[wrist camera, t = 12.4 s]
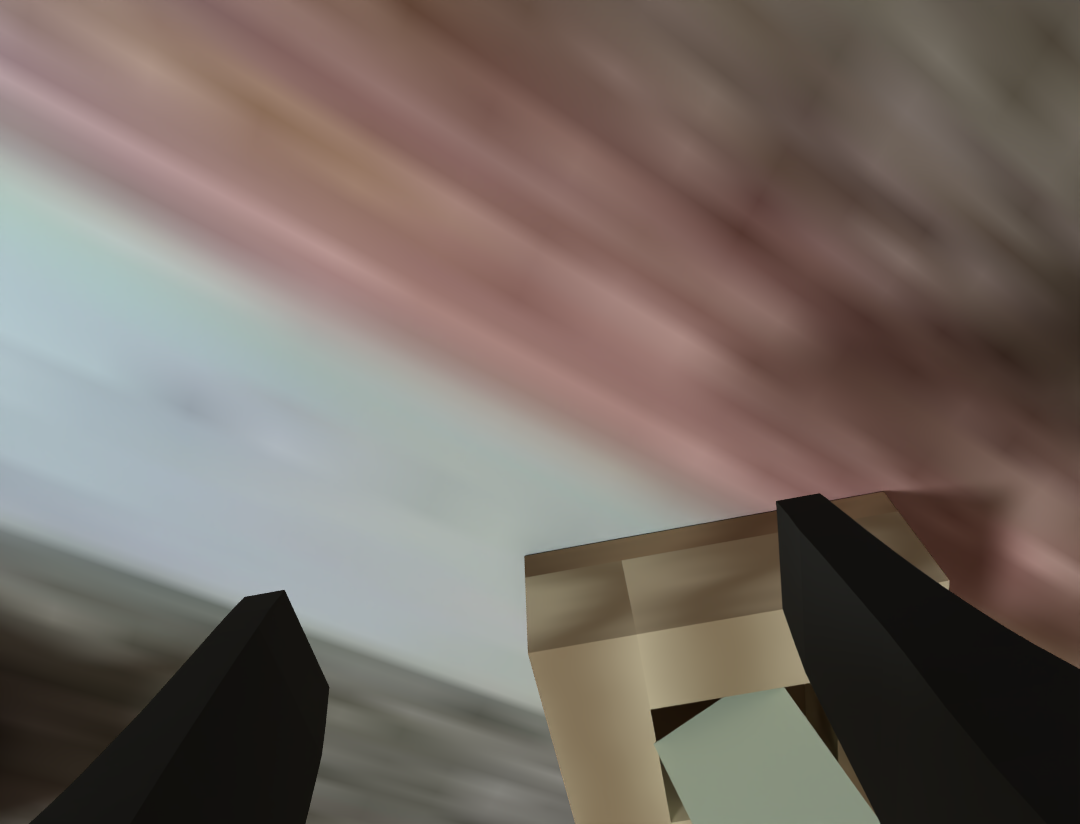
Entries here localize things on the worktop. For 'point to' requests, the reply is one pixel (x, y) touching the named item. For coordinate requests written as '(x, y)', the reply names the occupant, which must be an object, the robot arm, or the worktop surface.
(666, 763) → the sage peg
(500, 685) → the worktop surface
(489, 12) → the worktop surface
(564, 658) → the well block
